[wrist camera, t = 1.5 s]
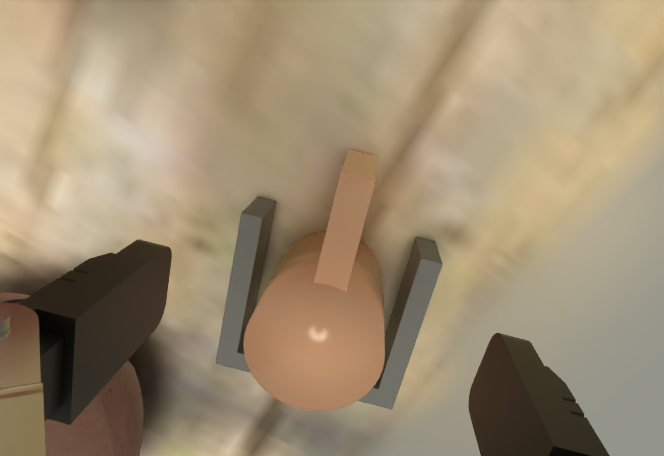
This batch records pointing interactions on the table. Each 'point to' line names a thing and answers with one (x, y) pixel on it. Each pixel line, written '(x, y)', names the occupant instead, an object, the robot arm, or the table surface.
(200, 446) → the table surface
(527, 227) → the table surface
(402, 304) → the charcoal holder
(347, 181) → the peach mallet
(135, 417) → the ceramic pitcher
